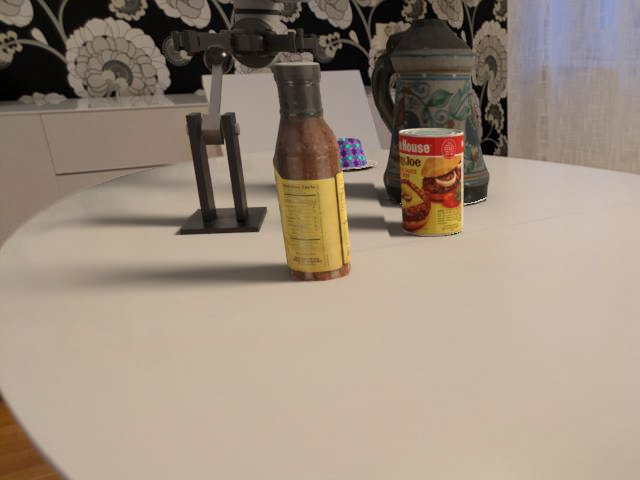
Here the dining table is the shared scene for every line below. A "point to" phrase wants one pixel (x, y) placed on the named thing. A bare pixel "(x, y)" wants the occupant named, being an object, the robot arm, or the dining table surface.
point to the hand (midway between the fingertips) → (239, 41)
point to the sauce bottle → (309, 178)
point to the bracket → (209, 215)
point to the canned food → (431, 181)
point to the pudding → (351, 153)
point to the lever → (215, 93)
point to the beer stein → (429, 97)
